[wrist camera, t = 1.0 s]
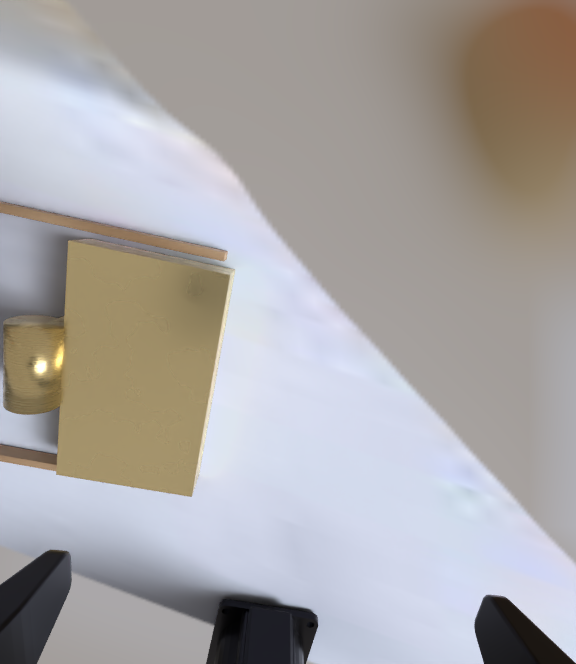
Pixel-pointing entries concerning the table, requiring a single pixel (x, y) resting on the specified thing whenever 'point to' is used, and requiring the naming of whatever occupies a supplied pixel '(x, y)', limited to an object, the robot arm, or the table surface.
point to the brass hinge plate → (124, 364)
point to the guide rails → (48, 459)
